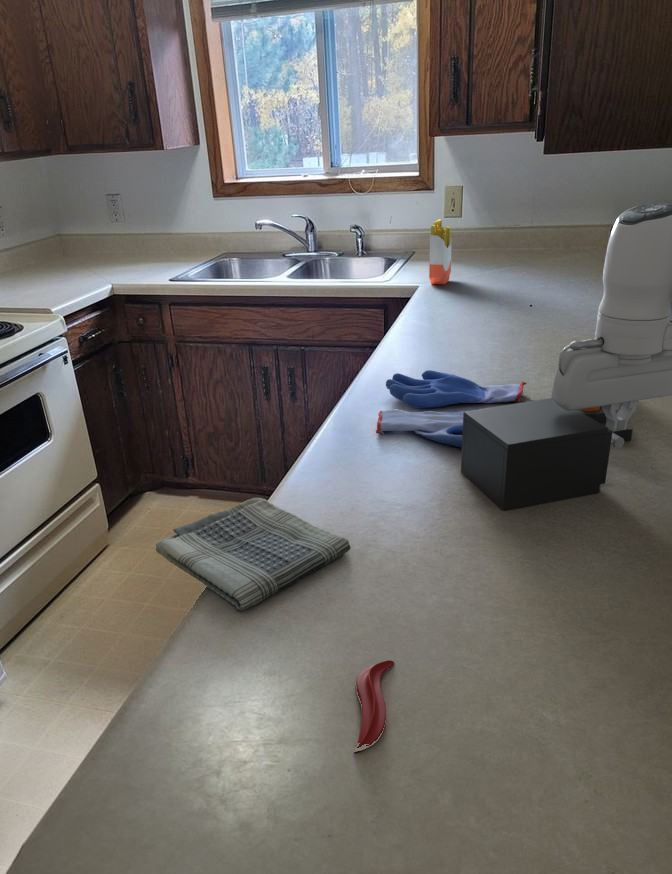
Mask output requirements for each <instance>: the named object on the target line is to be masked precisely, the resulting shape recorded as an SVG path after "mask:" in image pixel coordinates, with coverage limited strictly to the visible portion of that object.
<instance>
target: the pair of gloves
mask: <svg viewBox="0 0 672 874" xmlns="http://www.w3.org/2000/svg"><path fill="white" fill-rule="evenodd" d="M421 377H422V379H418V378H413V377H411V376H408V375H405V374H402V373H397V372H396V373H394V374H392V378H389V379H386V381H385V387H386V389H387V390H389V393H390V396H392V397H394V398H395V399H397V400H399V401H402V402H403V403H404V404H405V405H406V406H408V407H412V408H415V409H425V408H440V407H445V406H450V405H455V404H472V403H473V404H474V403H475V404H476V403H483V404H494V403H495V404H496V403H510V402H515V404H516V403H520V401H521V397H522V395H523V392H524V386H525V385H527V382H525V381H522V382H520V383H518V384H501V385H494V384H493V385H486V386H484V385H482V384H478V383H477V382H474V381H473V380H470V379H467V378H465V377H462V376H459V375H455V374H452V373H451V374H450V373H448V372H447V373H446V372H440V371H436V370H430V369H429V370H427V369H426V370H424V371H423V372H422V373H421ZM465 411H466V410H462V411H450V412H449V411H447V412H446V411H444V412H443V411H431V410H424V411H422V412H421V411H419V412H418V411H416V412H415V411H414V412H412V411H406V410H403V409H397V408H395V409H394V408H393V409H388V410H379V412H378V419H377V422H376V429H375V433H376V434H380V433H381V434H382V435H385V433H384V432H390V431H391V432H414V433H415V434H417V435H419V436H421V437H423V438H425V439H427V440H431V441H434V442H437V443H442V444H445V445H450V446H452V447H457V448H461V449H462V434H463V413H464V412H465Z"/></svg>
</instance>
